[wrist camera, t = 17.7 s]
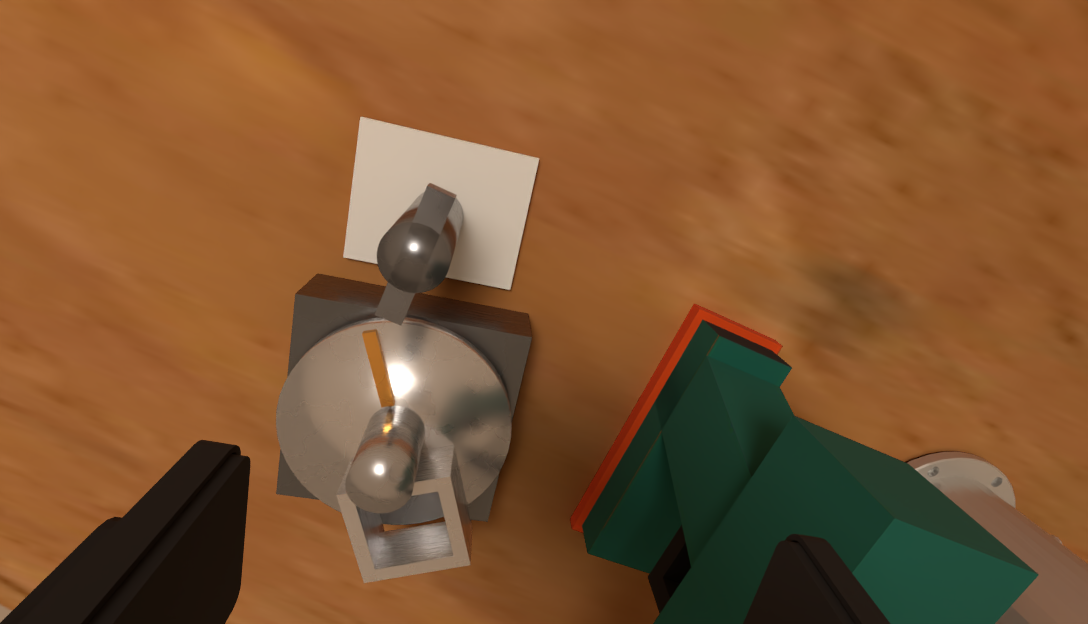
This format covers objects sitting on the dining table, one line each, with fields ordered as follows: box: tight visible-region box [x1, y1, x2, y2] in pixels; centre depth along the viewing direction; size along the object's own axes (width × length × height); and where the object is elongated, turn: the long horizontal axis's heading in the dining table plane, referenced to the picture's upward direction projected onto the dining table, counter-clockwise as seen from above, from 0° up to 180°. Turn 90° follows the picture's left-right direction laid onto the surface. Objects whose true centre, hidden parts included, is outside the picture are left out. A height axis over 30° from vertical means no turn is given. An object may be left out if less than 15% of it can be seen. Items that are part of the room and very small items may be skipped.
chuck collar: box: [276, 317, 512, 583], centre depth 30 cm, size 13×14×6 cm
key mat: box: [343, 117, 539, 290], centre depth 33 cm, size 10×8×1 cm
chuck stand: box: [276, 274, 532, 522], centre depth 35 cm, size 13×13×4 cm
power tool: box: [570, 304, 1039, 624], centre depth 32 cm, size 32×7×20 cm, turn 155°
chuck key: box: [375, 183, 464, 325], centre depth 28 cm, size 3×6×10 cm, turn 154°
